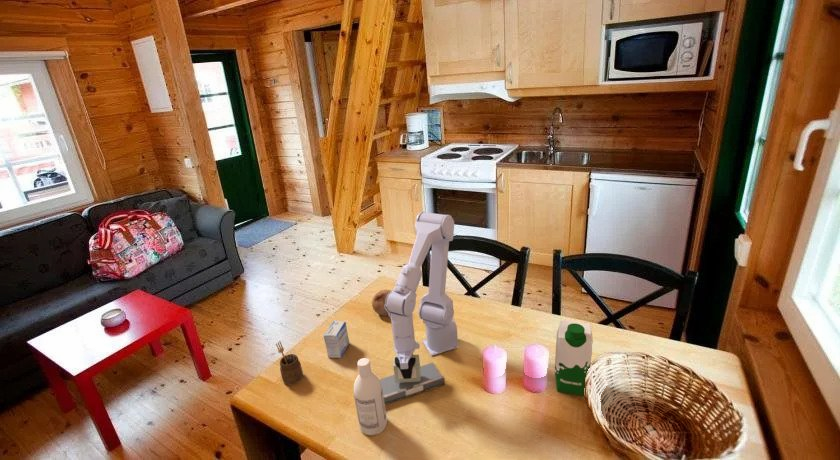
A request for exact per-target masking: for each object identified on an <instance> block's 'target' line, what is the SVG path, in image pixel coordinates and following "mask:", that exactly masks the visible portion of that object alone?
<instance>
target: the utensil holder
mask: <svg viewBox="0 0 840 460" xmlns="http://www.w3.org/2000/svg"><path fill="white" fill-rule="evenodd" d="M275 346H276V348H277V350H278V353H279V354H281V355H282V357H281V358H280V360H279V365H280V368H279V370H280V375H281V379H282V381H283V383H284V384H285V385H287V386H293V385H296V384H298V383H299V382H300V381H301V380H302V379H303V376H304V373H303V366H302V363H301V362H300V360H299V357H298V355H296V353H290V352H293V350H292V349H291V350H288V351H287V353H286V355H285V354H284V352H285V351H284V347H283V343H282V342H281V341H278V342H277V343H275ZM289 353H290V354H289Z"/></svg>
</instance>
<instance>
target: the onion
mask: <svg viewBox="0 0 840 460" xmlns="http://www.w3.org/2000/svg"><path fill="white" fill-rule="evenodd" d="M392 291H393V290H391V289H382V290H379V291H377V293H376V294H375V295H374V296H373V297H372V300H371V306H372V309H373V310H374V312H375V313H376V314H378V315H380V316H384V317H385V316H389V315H388V312H387V311H386V310H385V307H384V305H385V300H386V297H387V295H388V293H390V292H392Z"/></svg>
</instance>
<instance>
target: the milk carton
mask: <svg viewBox="0 0 840 460" xmlns="http://www.w3.org/2000/svg"><path fill="white" fill-rule="evenodd" d="M593 342H594V340H593V333H592V327H591V323H588V322H582V321H572V320H564V319H559V323H558V328H557V331H556V341H555V355H554V356H555V357H554V377H555V384H556V385H555V387H556V392H557V391H558V393H561V394H567V395H569V394H570V395H574V396H580V397H585V396H584V388H585V377H586V373H587V371H588V369H589V368H590V369H591V364H592V354H593V344H594V343H593ZM563 392H564V393H563Z"/></svg>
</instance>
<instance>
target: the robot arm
mask: <svg viewBox="0 0 840 460" xmlns="http://www.w3.org/2000/svg"><path fill="white" fill-rule="evenodd" d="M454 230H455V219H454V218H453V217H452V215H450V214H441V213H434V212H426V211H420V212H418V214H417V215H416V217H415V223H414V232H415V235H416V236H415V240H414V242H413V246H412V249H411V253H410V257H409V259H408V260H409V261H408V263H406V264H405V265H403V266H402V267H401V270H400V272H399V275H398V276H397V280H396V283H395V285H394V287H393V290H391V291H392V292H390V293H388V295H387V297H386V300H385V305H384V307H385V310H386V311H387V312H388V315H387V316H388V317H389V318H390V321H391V328H392V337H393V338H392V339H393V351H394V352H395V354H396V355H395V356H397V357H395V365H396V366H397V367H398V368H399V369H400V371H401V374H402V376H403V378H404V379H411V377H412V369H413V366H414V364H415V362H416V357H415V358H411V356H412V355H414V352H415V351H416V350H417V349H418V350H419V349H420V347H421V346H420V342H419V341H416V339H415V329H414V319H413V312H414V310H415V308H416V305H417V304H416V303H417V297H418V295H417V293H416V292H417V291H418V287H419V284H420V282H421V280H422V276H423V272H422V269H421V267H422V266H423V263H424V261H425V259H426V257H427V255H428V253H429V251H430V249H431V253H430V267H429V268H430V269H429V282H428V292H427V293H425V294H424V295H422V297H421V298H420V303H419V306H418V317H419V319H421V320H422V322H423V323H422V324H424V325H425V331H426V332H425V335H426V336H425V337H426V339H423V340H422V343H423V345H424V347H425V348H426V349H427V351H428V352H429V354H430V356H435V355H439V354H442V353H445V352H447V351H452V350H455V349H459V347H460V345H459V342H458V341H459V339H458V326H457V324H456V323H457V322H456V321H455V319H454V316H455V310H454V309H455V308H454V301H453V299H452V298H451V297H450V296H449V295H448V294H447V293H446V285H447V284H446V283H447V272H448V271H447V270H448V260H449V245H450V242H453V240H454V233H455V232H454Z"/></svg>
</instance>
